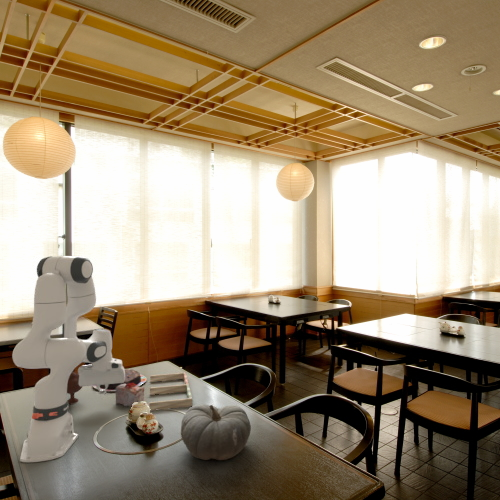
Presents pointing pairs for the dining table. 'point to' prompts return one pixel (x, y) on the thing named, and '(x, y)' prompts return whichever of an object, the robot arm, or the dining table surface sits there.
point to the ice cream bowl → (73, 387)
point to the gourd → (215, 431)
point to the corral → (170, 391)
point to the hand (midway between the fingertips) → (102, 393)
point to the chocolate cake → (126, 380)
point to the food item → (129, 394)
